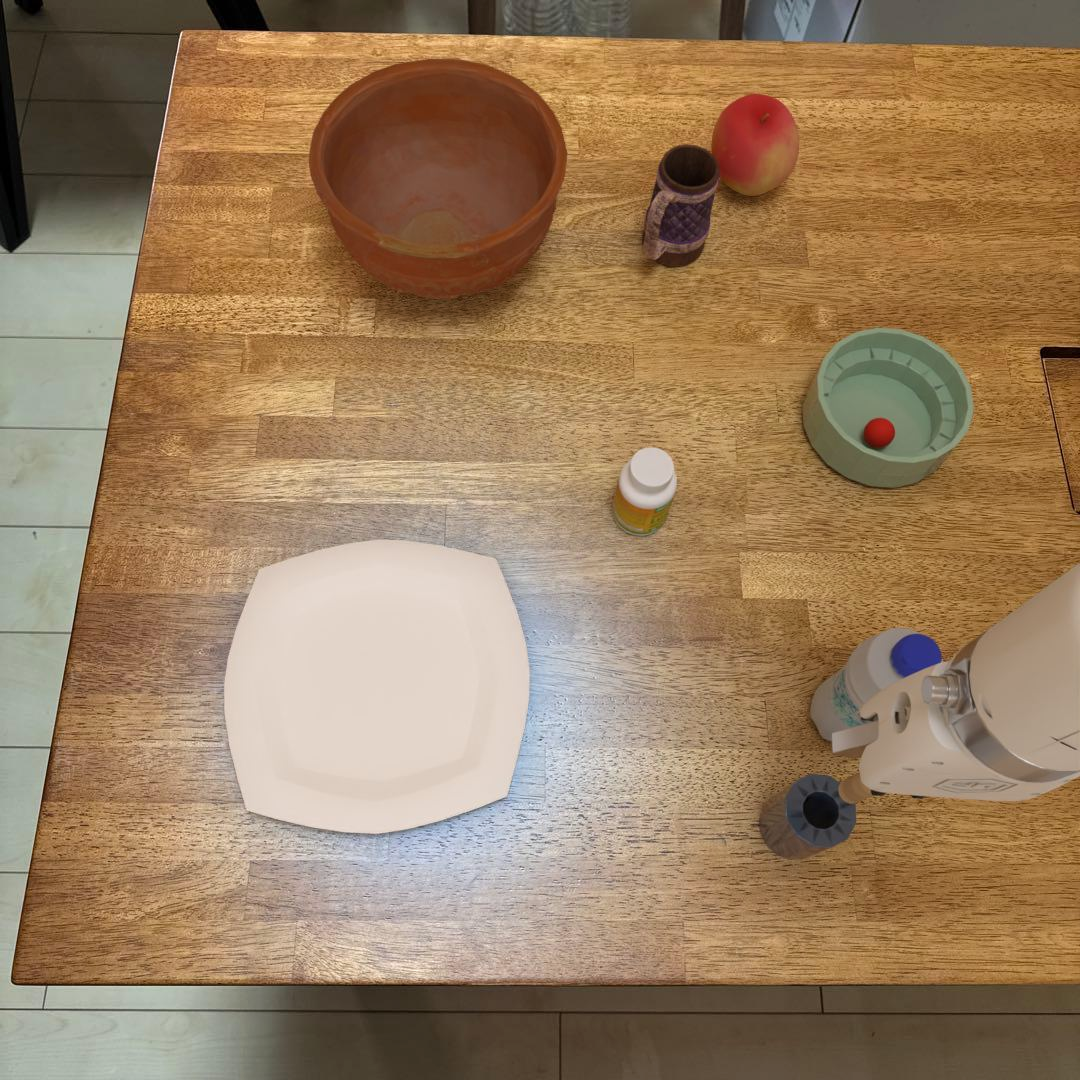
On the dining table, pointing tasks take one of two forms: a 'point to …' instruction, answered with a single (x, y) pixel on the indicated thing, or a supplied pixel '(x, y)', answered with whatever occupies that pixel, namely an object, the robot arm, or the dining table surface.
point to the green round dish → (887, 406)
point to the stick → (853, 789)
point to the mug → (680, 206)
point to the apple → (755, 144)
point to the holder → (807, 818)
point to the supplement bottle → (645, 492)
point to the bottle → (870, 676)
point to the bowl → (439, 174)
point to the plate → (376, 687)
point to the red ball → (879, 432)
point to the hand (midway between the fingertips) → (894, 772)
